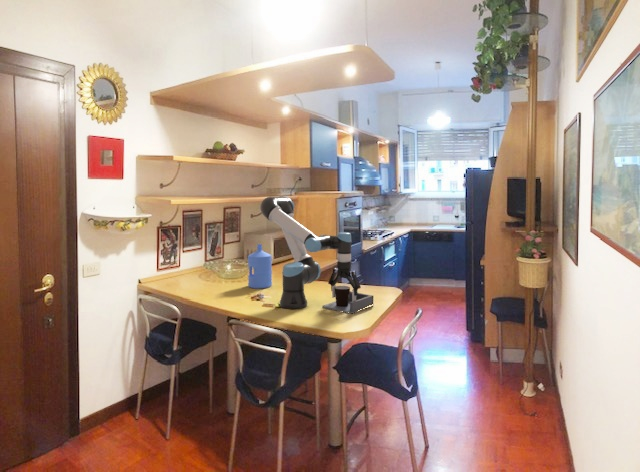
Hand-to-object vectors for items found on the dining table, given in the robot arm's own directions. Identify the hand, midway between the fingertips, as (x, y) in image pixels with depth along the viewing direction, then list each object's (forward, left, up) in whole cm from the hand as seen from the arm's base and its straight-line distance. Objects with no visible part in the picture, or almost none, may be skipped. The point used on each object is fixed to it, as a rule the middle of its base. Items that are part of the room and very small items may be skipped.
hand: (344, 299), depth 234 cm
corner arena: (+1, -3, -4) cm, 5 cm away
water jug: (+5, +73, -4) cm, 73 cm away
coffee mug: (0, 0, -3) cm, 3 cm away
